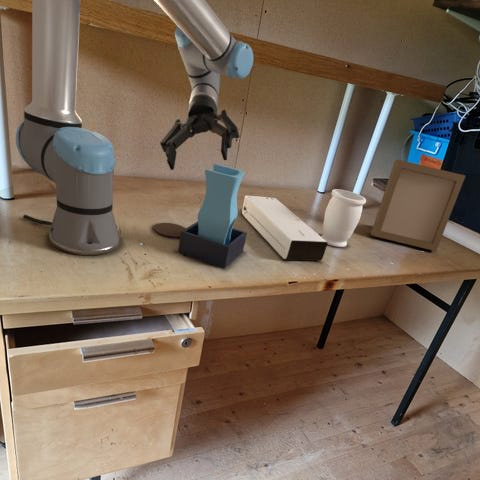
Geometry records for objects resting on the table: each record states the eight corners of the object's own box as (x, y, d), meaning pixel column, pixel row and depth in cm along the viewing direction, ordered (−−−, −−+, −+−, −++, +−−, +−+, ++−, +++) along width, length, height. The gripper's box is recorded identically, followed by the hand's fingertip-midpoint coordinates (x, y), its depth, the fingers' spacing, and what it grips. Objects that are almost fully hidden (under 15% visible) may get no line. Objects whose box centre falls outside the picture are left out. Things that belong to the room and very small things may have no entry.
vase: (201, 240, 108) (214, 163, 98) (230, 248, 108) (246, 171, 97) (192, 251, 102) (204, 169, 91) (222, 260, 101) (238, 178, 90)
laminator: (321, 262, 113) (328, 242, 110) (282, 262, 108) (288, 240, 105) (271, 215, 139) (275, 197, 135) (237, 213, 134) (241, 194, 130)
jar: (311, 234, 131) (325, 187, 123) (338, 235, 135) (353, 190, 127) (327, 248, 123) (344, 199, 115) (355, 249, 127) (373, 202, 119)
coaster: (147, 230, 108) (147, 229, 108) (164, 221, 116) (164, 220, 116) (177, 241, 107) (178, 239, 106) (193, 231, 114) (193, 230, 114)
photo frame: (434, 253, 139) (471, 179, 126) (372, 238, 140) (401, 163, 126) (424, 238, 152) (456, 169, 138) (367, 224, 152) (393, 154, 139)
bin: (178, 252, 101) (180, 231, 98) (200, 237, 112) (203, 217, 109) (224, 268, 99) (228, 247, 96) (242, 252, 109) (247, 232, 106)
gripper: (251, 111, 111) (250, 164, 100) (165, 129, 116) (155, 181, 105) (245, 84, 104) (243, 137, 94) (154, 104, 110) (142, 156, 99)
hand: (196, 160), depth 99 cm, fingers open, 13 cm apart
